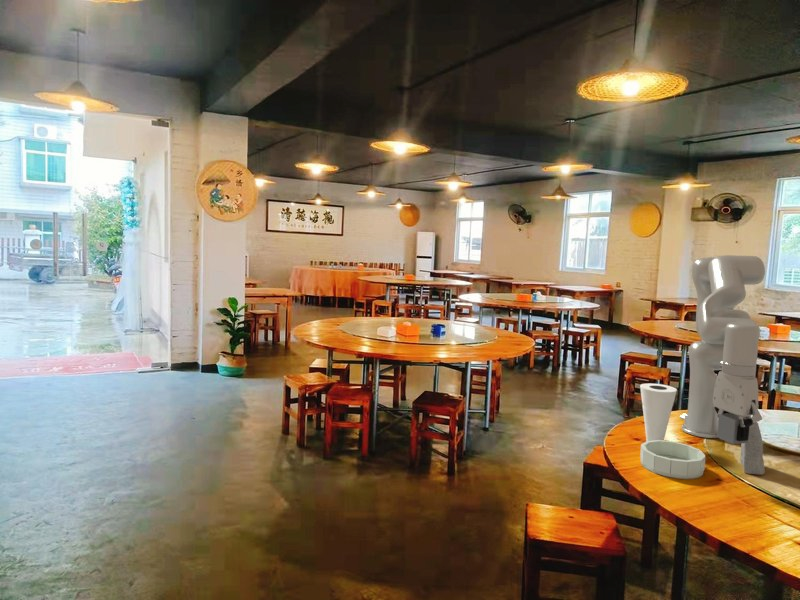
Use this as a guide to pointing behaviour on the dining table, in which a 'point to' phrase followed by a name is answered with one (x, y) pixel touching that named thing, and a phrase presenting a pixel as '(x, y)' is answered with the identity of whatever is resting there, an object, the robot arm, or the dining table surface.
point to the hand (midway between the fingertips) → (732, 435)
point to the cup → (657, 409)
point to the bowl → (672, 459)
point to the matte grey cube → (729, 428)
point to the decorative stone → (753, 452)
